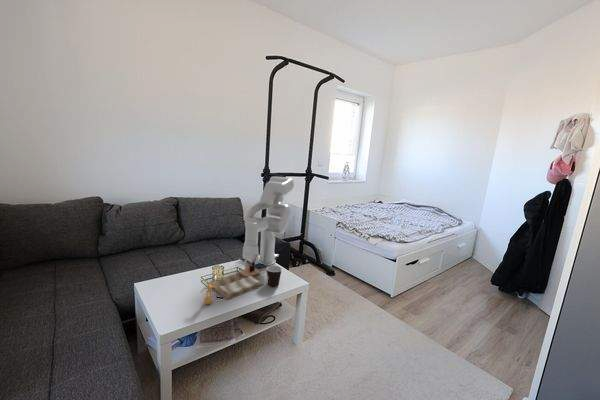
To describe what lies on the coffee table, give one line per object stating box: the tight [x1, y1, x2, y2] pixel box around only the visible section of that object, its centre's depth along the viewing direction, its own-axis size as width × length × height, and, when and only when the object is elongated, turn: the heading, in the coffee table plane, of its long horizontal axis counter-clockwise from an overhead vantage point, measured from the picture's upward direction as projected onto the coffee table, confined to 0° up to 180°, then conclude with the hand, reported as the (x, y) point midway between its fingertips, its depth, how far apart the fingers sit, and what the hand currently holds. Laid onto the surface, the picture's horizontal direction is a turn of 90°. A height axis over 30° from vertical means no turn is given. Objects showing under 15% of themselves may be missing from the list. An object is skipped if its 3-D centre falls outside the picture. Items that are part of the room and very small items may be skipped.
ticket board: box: [209, 272, 264, 301], centre depth 155 cm, size 24×18×3 cm
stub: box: [239, 261, 261, 277], centre depth 167 cm, size 10×7×7 cm
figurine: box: [199, 282, 218, 305], centre depth 134 cm, size 8×6×12 cm
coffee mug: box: [266, 264, 283, 288], centre depth 160 cm, size 12×9×10 cm
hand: (250, 269), depth 168 cm, fingers closed on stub, 3 cm apart
